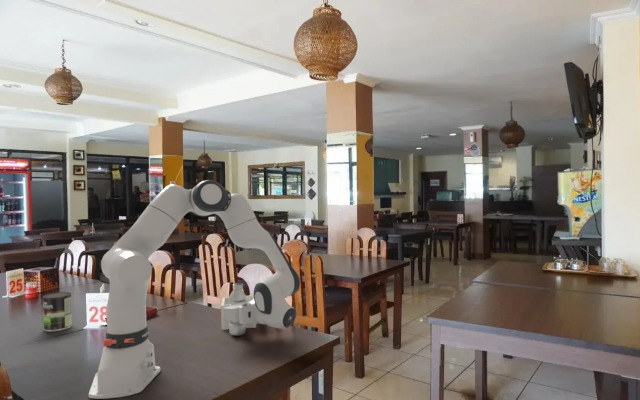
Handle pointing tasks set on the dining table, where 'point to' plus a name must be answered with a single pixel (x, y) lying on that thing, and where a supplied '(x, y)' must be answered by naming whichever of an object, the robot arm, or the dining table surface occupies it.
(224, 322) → the bin
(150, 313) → the hardcover book
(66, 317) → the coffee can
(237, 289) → the plastic bottle
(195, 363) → the dining table surface
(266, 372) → the dining table surface
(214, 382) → the dining table surface
